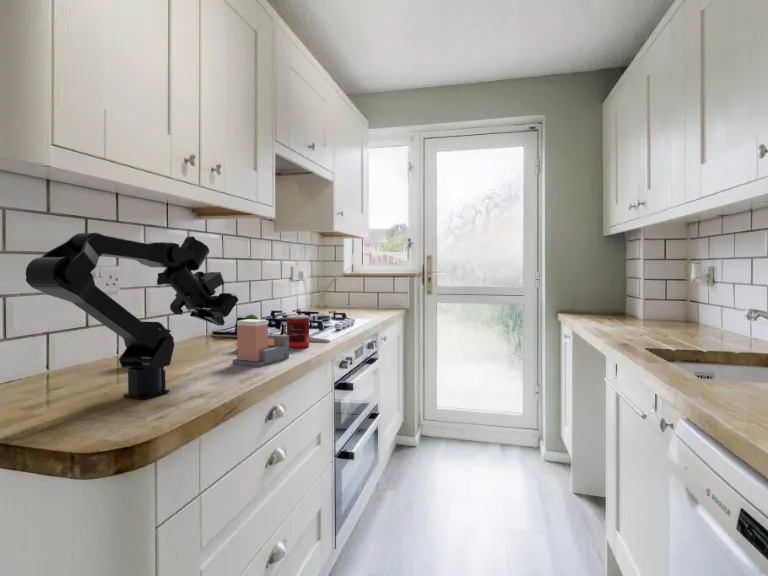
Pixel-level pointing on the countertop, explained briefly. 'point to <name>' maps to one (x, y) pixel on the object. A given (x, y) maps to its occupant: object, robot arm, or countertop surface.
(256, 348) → the pink white rectangular block
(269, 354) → the housing
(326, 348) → the countertop surface
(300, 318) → the canned food
